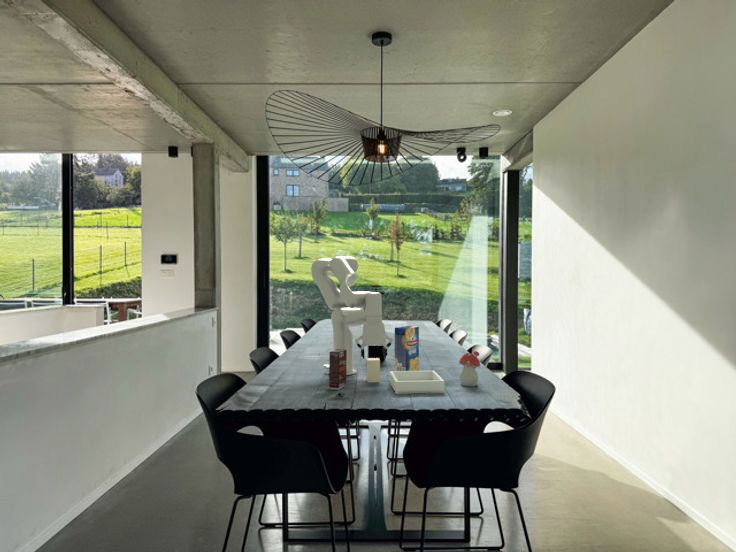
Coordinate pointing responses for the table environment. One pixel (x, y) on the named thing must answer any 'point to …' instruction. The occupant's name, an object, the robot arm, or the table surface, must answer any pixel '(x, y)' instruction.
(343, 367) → the supplement box
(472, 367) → the decorative ornament
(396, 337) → the blue cardboard box
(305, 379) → the table surface
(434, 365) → the table surface
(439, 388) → the tray
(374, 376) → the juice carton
